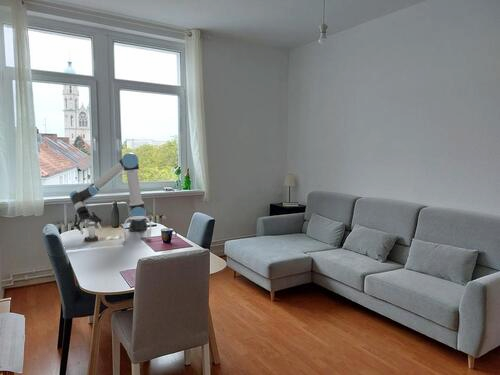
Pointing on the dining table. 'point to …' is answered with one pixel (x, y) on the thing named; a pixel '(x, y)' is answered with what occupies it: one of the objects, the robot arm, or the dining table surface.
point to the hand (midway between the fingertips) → (92, 231)
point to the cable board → (100, 238)
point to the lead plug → (91, 229)
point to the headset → (126, 231)
